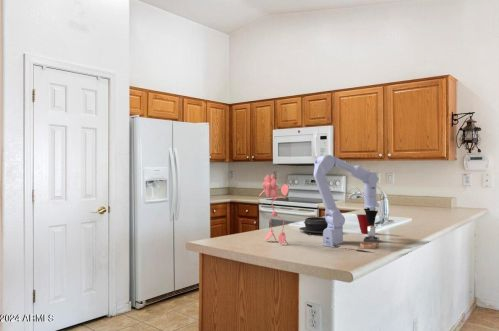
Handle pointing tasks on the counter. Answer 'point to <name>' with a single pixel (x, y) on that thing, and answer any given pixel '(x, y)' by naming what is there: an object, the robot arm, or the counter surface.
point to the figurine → (271, 190)
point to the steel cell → (371, 232)
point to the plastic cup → (363, 223)
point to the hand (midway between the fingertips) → (370, 223)
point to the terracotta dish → (368, 245)
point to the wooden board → (365, 248)
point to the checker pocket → (371, 240)
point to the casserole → (315, 225)
